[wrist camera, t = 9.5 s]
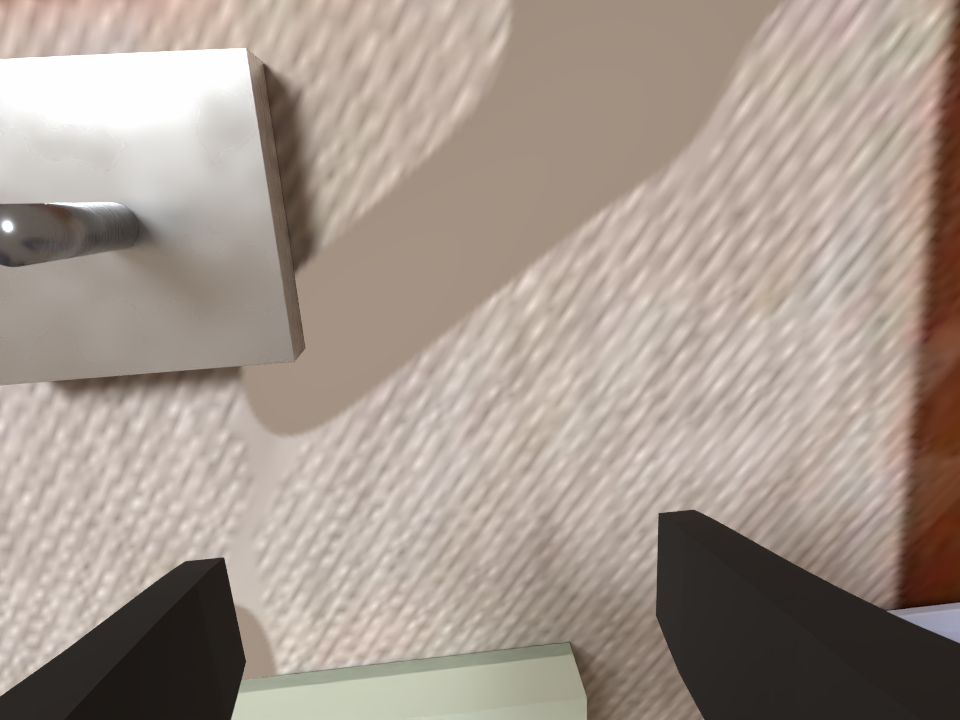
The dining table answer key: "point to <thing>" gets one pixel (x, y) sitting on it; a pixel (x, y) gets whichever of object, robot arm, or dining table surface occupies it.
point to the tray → (427, 689)
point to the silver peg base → (141, 217)
